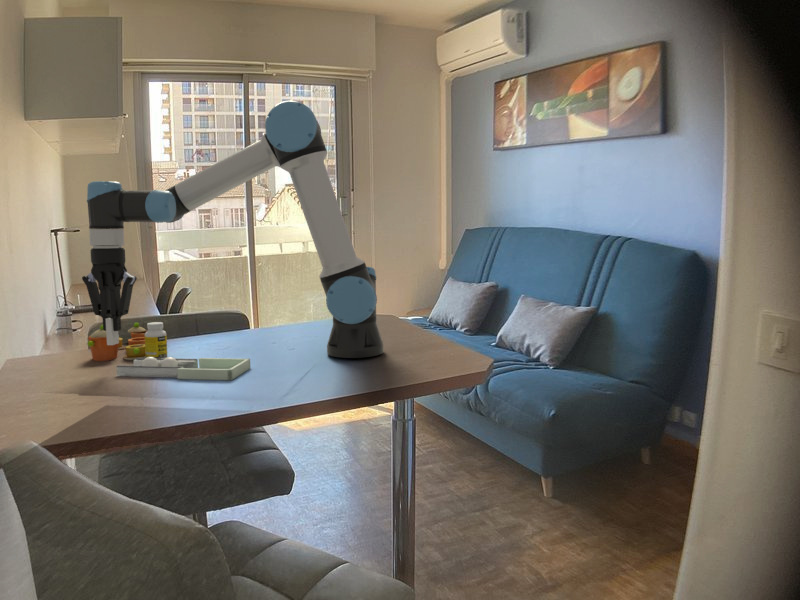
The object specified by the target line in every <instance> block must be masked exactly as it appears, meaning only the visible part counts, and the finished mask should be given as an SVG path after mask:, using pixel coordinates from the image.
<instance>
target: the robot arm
mask: <svg viewBox="0 0 800 600" xmlns="http://www.w3.org/2000/svg"><path fill="white" fill-rule="evenodd" d="M264 128H265V129H264V130H265V132H263V133H262V134H261V135H262V136H261V138H260V140H259V139H258V140H257V141H255V142H254V143H252V144H250V145H248V146H246V147H244V148H242V149H240V150H239V151H237V152H235V153H233V154H231V155H229V156H227V157H225V158H223V159H221V160H220V161H218V162H216V163H214V164H212V165H209V166H208V167H206V168H204V169H203V170H200V171H199V172H197V173H195V174H193V175H191V176H190V177H188V178H186V179H184V180H182V181H179V182H178V183H177V184H175V185H173V186H171V187H168V188H167V189H165V190H161V189H148V190H146V189H145V190H139V189H138V190H126V189H123V188H122V183H121V182H119V181H110V180H109V181H102V180H101V181H100V180H99V181H97V180H95V181H91V182H89V183H88V184H87V191H86V192H87V194H86V195H87V196H86V198H87V199H86V202H87V212H88V228H89V229H88V233H89V245H90V246H91V247H92V248H91V249H90V262H91V264H92V265H91V266H92V267H91V270H90V273H89V274H87V275H83V276H82V277H81V280H82V282H83V283H84V284H85V286H86V290H87V294H88V297H89V300H90V303H91V306H92V310H93V313H94V315H95V316H99V317H101V319H102V325H103V329H104V331H106V336H107V345H115V344H118V343H119V338H120V336H119V331H122V330H121V329H122V322H121V321H122V320H121V319H122V317H123V316H127V315H129V311H130V305H131V299H132V295H133V294H132V293H133V289H134V288H133V287H134V285H135V283H136V281H137V279H138V278H137V276H136V275H131V274H130V273H129V272H128V270H127V267H126V249H125V248H124V247H123V246H124V245H125V227H124V226H125V225H124V223H130V222H131V223H156V224H158V223H165V224H166V223H167V224H168V223H169V224H170V223H171V224H172V223H175V222H177V221H179V220H181V219H182V218H183V217H184V216H185V215H186V214H188V213H190V212H191V211H193V210H195V209H197V208H199V207H200V206H203V205H205V204H206V203H208V202H210V201H212V200H215V199H216V198H219V197H220V196H222V195H224V194H225V193H227V192H229V191H231V190H233V189H235V188H238V187H239V186H241V185H243V184H244V183H246V182H248V181H250V180H252V179H254V178H256V177H258V176H260V175H262V174H264V173H266V172H268V171H270V170H271V169H273V168H275V167H279V168H281V169H282V170H284V171H286V172H287V173H288V174H289V175H290V178H291V181H292V185H293V188H294V190H295V193H296V196H297V198H298V201H299V205H300V207H301V209H302V213H303V215H304V218H305V221H306V224H307V227H308V230H309V232H310V235H311V238H312V241H313V244H314V247H315V249H316V252H317V253H316V254H317V255H318V258H319V261H320V264H321V267H322V269H321V272H320V274H319V280H320V283H321V286H322V288H323V292H324V294H325V297H326V299H325V302H326V307H327V310H328V312H329V314H330V315H331V316H332V328H331V330H330V334H329V337H328V340H327V344H326V354H327V355H328V356H331V357H336V358H343V359H344V358H346V359H361V358H370V357H375V356H379V355H381V354H383V353H384V343H383V338H382V336H381V333H380V330H379V327H378V324H377V303H378V302H377V300H378V299H377V298H378V297H377V284H376V283H377V282H376V281H377V275H376V274H377V273H376V269H375V268H374V267H372V266H367V265H366V261H365V260H363V259H361V258H360V257H357V255H356V251H355V248H354V246H353V243H352V240H351V237H350V234H349V231H348V227H347V225H346V222H345V219H344V217H343V215H342V211H341V208H340V205H339V203H338V200H337V197H336V196H337V195H336V193H335V191H334V188H333V184H332V182H331V179H330V176H329V174H328V170H327V167H326V164H325V159H326V157H327V154H328V150H327V149H326V148H327V147H326V145H325V142H324V138H323V136H322V131H321V126H320V123H319V122H318V120H317V118H316V115H315V114H314V112H313V110H312V109H311V108H310V107H309V106H307V105H305V104H304V103H301V102H299V101H296V100H284V101H281V102H279V103H277V104H276V105H274V106H273V107H272V108H271V109H270V111H268V114H267V116H266V118H265V123H264ZM122 282H123V285H122Z"/></svg>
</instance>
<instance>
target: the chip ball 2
mask: <svg viewBox="0 0 800 600" xmlns="http://www.w3.org/2000/svg"><path fill="white" fill-rule="evenodd" d="M161 366H177V367H178V362H177V360H176V359H175V358H174V357H173V356H167V358H165V359H164V360H163V361H162V363H161Z"/></svg>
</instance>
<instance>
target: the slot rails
mask: <svg viewBox="0 0 800 600" xmlns="http://www.w3.org/2000/svg"><path fill="white" fill-rule="evenodd" d="M144 359H145V358H136V360H132V362H133V365H126V364H125V365H118V364H117V365H116V377H129V378H130V377H136V378H137V377H138V378H140V377H141V378H142V377H143V378H177V379H178V375H177V369H178V368H192V369H197V368H199V359H198V358H175V359H176V360H177V362H178V367H177V366H161V363H162V361H163V360H164V359H165V358H156V359H157V360H158V363H159V366H142V362H143V360H144Z"/></svg>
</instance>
